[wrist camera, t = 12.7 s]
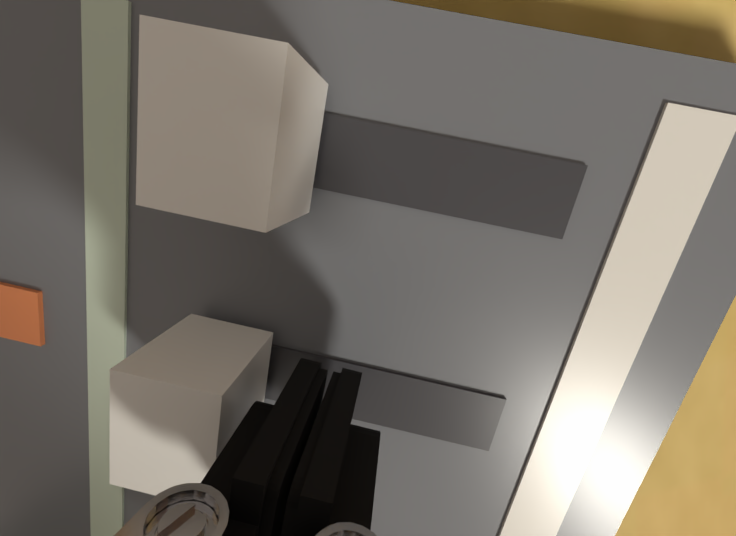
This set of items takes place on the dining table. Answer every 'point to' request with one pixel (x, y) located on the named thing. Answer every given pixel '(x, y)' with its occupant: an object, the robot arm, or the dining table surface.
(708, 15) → the dining table surface
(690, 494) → the dining table surface
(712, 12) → the dining table surface
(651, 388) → the panel
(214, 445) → the handle
